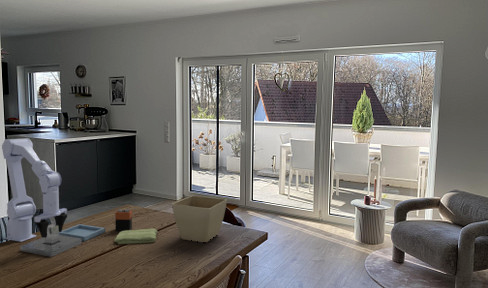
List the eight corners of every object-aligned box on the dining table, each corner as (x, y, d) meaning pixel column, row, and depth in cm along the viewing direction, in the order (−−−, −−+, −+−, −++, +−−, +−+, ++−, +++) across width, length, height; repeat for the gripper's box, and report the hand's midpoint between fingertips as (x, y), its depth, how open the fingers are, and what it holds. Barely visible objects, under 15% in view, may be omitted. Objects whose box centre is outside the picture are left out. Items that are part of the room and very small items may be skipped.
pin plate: (20, 250, 148) (20, 246, 148) (52, 238, 163) (52, 233, 163) (51, 256, 143) (51, 251, 143) (81, 243, 158) (81, 238, 158)
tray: (58, 236, 166) (58, 232, 165) (79, 228, 178) (79, 224, 178) (85, 241, 161) (84, 236, 161) (105, 232, 173) (105, 228, 173)
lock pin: (45, 247, 152) (44, 226, 151) (52, 244, 156) (51, 224, 155) (51, 249, 151) (51, 227, 150) (58, 246, 154) (58, 225, 154)
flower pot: (170, 240, 165) (170, 203, 163) (192, 228, 182) (192, 194, 181) (208, 247, 158) (209, 208, 156) (227, 234, 175) (227, 199, 174)
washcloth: (118, 235, 171) (118, 228, 170) (157, 234, 174) (157, 227, 173) (113, 245, 158) (113, 238, 157) (156, 244, 161) (156, 236, 161)
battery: (129, 231, 175) (129, 210, 174) (115, 231, 175) (115, 210, 174) (132, 228, 180) (132, 208, 179) (118, 228, 179) (118, 208, 179)
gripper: (43, 207, 143) (44, 241, 145) (72, 199, 157) (72, 230, 158) (30, 205, 146) (31, 238, 147) (59, 197, 159) (60, 228, 161)
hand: (51, 234), depth 153 cm, fingers open, 7 cm apart
